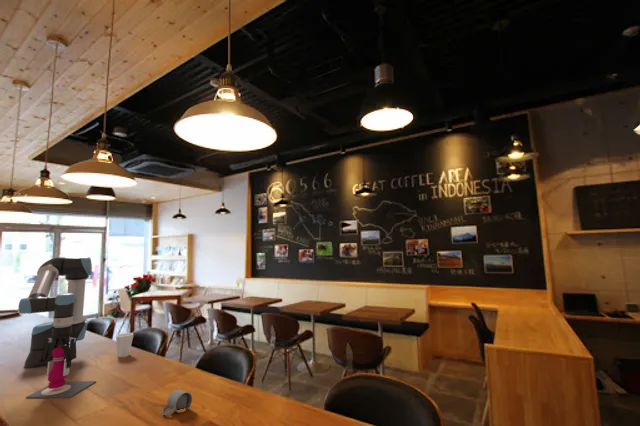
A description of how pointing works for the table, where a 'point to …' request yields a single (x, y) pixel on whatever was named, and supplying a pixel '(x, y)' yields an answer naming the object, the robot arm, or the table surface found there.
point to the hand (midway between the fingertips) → (57, 374)
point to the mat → (62, 390)
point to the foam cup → (124, 344)
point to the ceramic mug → (178, 401)
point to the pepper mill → (57, 369)
